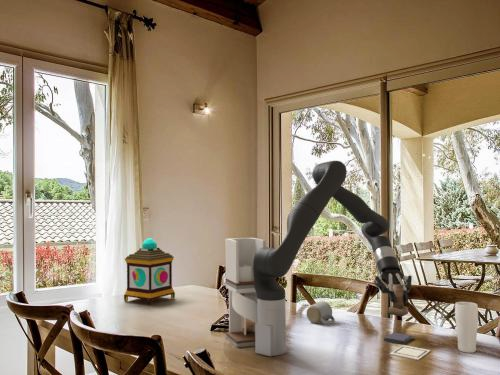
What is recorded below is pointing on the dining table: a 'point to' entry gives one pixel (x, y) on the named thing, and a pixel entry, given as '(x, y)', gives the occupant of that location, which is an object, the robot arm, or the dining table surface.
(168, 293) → the decorative lantern
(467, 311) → the drinking glass
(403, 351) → the label card
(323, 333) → the dining table surface
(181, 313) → the dining table surface
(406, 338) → the ink pad
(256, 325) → the robot arm
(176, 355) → the dining table surface
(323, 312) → the ceramic mug
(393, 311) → the stamp
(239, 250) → the white tiered stand
